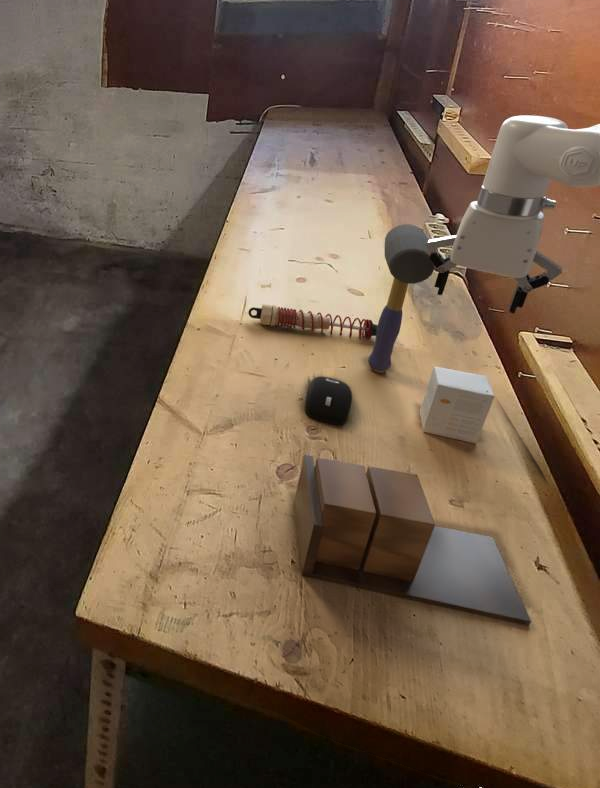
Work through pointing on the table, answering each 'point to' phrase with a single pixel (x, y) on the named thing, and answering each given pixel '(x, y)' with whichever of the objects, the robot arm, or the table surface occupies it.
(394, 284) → the rubber mallet
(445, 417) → the small box
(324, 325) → the shock absorber
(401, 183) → the table surface
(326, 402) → the portable bluetooth speaker
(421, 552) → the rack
